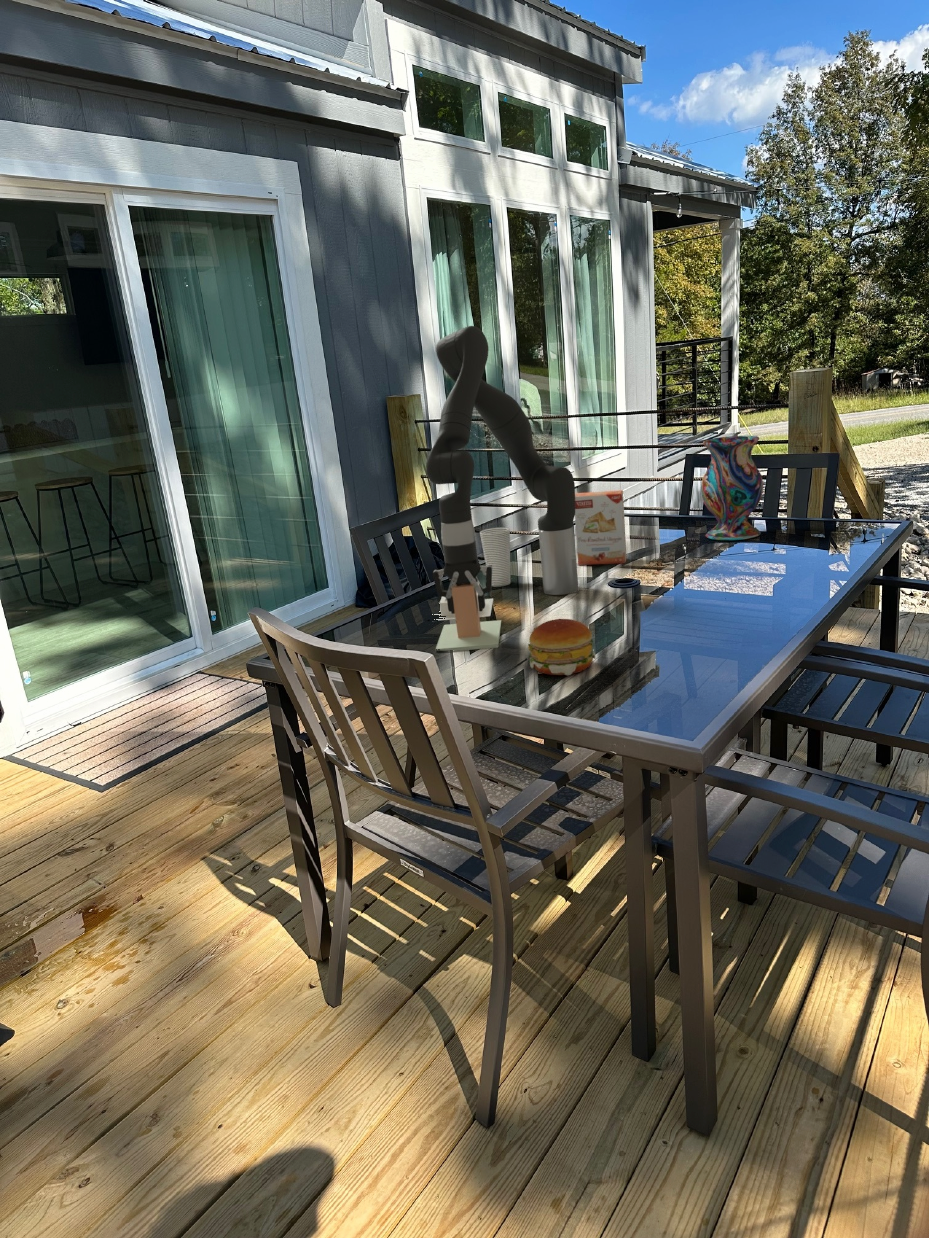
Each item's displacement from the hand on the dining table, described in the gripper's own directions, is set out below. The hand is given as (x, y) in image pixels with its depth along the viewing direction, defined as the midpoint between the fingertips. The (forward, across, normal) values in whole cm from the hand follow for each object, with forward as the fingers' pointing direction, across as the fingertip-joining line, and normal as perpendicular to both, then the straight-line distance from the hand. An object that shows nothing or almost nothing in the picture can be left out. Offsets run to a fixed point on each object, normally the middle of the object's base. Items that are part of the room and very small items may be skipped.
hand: (467, 611), depth 198 cm
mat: (+6, 0, 0) cm, 6 cm away
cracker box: (+7, -35, -62) cm, 72 cm away
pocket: (+6, +4, -22) cm, 23 cm away
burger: (+7, -21, +25) cm, 33 cm away
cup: (+7, -5, -47) cm, 48 cm away
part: (+5, 0, 0) cm, 5 cm away
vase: (+7, -77, -82) cm, 113 cm away
